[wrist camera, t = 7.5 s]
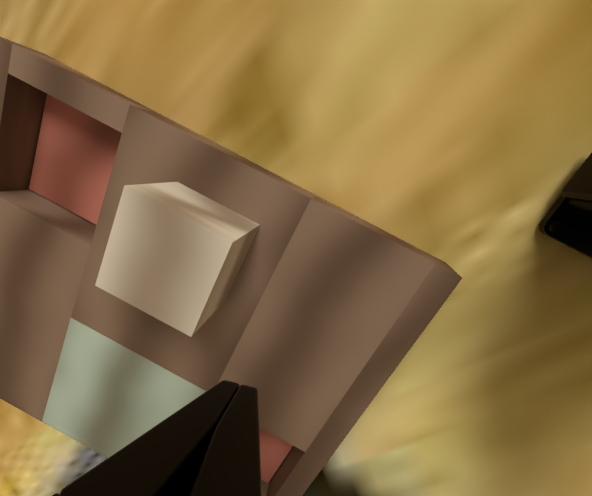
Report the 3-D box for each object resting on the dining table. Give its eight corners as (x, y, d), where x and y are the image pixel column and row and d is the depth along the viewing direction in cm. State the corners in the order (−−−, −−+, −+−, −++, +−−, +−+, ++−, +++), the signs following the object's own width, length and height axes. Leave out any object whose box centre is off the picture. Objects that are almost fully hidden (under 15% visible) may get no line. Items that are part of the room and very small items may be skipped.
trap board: (446, 263, 17) (462, 277, 15) (273, 508, 24) (265, 545, 22) (42, 53, 18) (-5, 35, 16) (-12, 351, 25) (-50, 370, 23)
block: (259, 224, 16) (232, 242, 12) (225, 300, 17) (191, 337, 13) (177, 181, 16) (124, 185, 12) (149, 260, 17) (95, 285, 14)
